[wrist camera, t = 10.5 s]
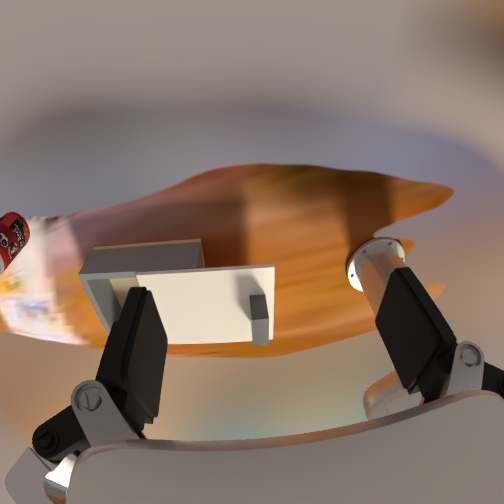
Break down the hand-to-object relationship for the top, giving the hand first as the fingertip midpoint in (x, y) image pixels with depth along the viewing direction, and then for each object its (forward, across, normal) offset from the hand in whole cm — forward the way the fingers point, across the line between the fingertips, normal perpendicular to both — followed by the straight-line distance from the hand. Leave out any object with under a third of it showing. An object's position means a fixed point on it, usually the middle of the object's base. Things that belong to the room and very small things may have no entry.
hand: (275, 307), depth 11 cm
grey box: (+33, +18, +25) cm, 45 cm away
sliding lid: (+25, +7, +25) cm, 36 cm away
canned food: (+34, +46, +11) cm, 58 cm away
